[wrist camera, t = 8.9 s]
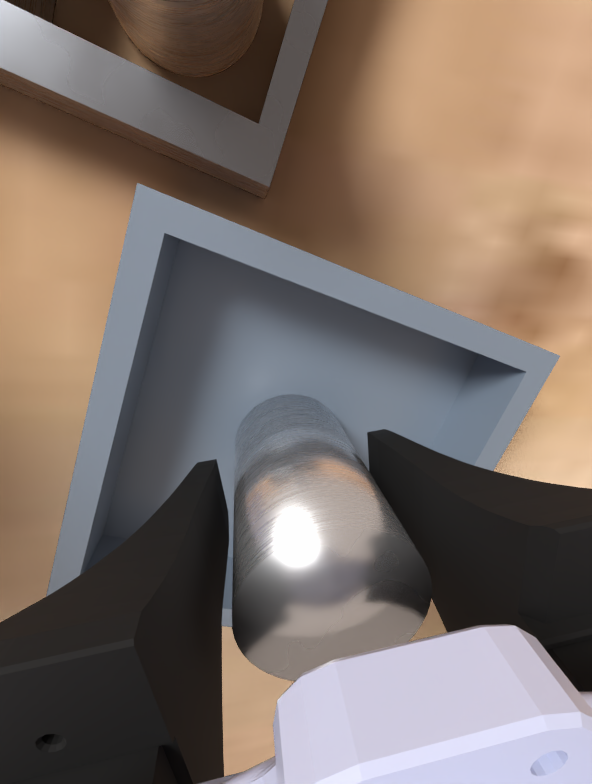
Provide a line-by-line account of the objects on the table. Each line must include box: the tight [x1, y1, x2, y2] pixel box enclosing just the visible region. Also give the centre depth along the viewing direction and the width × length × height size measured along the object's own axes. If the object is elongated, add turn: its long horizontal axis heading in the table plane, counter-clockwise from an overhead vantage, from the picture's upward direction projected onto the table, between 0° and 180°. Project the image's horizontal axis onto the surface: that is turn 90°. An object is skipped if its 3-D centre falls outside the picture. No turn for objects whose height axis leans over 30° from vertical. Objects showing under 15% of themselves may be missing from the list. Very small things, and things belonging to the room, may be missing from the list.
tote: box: [46, 183, 560, 627], centre depth 13 cm, size 13×13×3 cm
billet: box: [232, 394, 432, 681], centre depth 11 cm, size 4×4×7 cm
